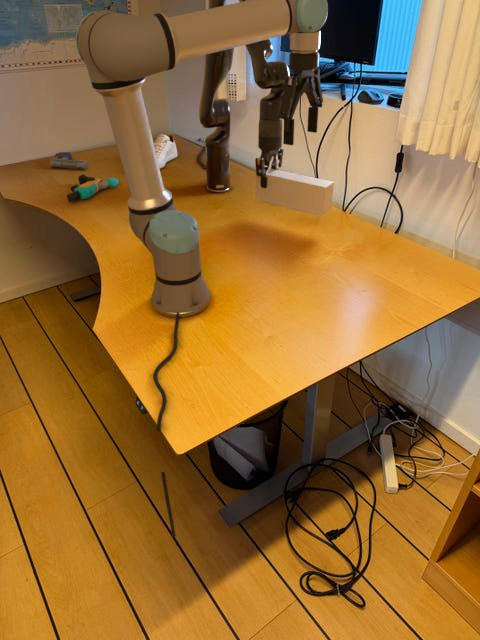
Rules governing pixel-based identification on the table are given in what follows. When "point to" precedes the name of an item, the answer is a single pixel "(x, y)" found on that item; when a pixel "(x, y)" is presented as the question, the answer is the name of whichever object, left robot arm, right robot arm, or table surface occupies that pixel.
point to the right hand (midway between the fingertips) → (268, 184)
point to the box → (296, 192)
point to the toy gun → (66, 161)
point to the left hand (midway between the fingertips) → (300, 138)
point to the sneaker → (165, 149)
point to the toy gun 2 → (90, 187)
